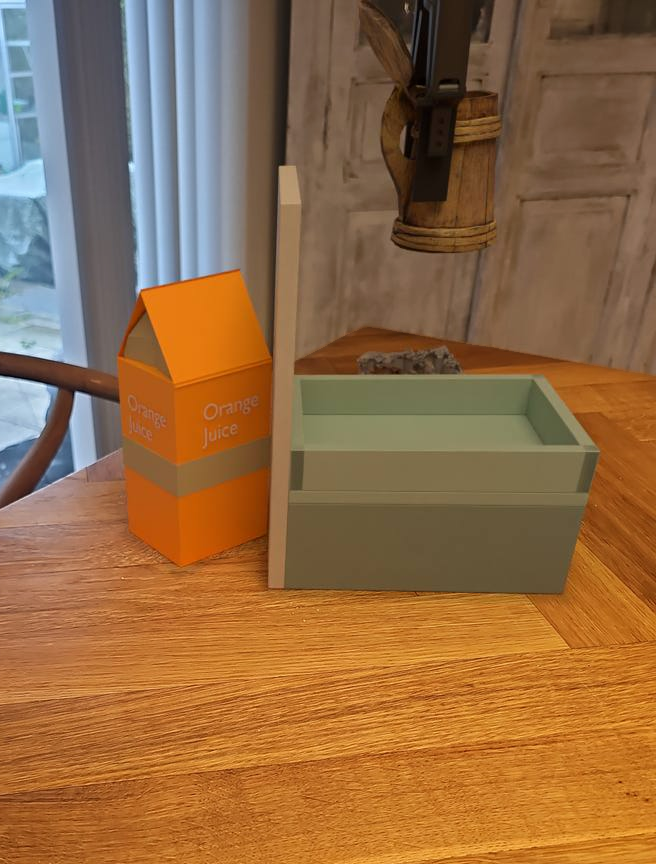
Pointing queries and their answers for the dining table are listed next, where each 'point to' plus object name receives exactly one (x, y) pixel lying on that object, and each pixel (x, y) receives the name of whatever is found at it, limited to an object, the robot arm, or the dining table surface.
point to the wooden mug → (470, 165)
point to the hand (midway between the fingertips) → (422, 192)
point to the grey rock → (409, 363)
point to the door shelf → (416, 469)
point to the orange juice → (196, 417)
